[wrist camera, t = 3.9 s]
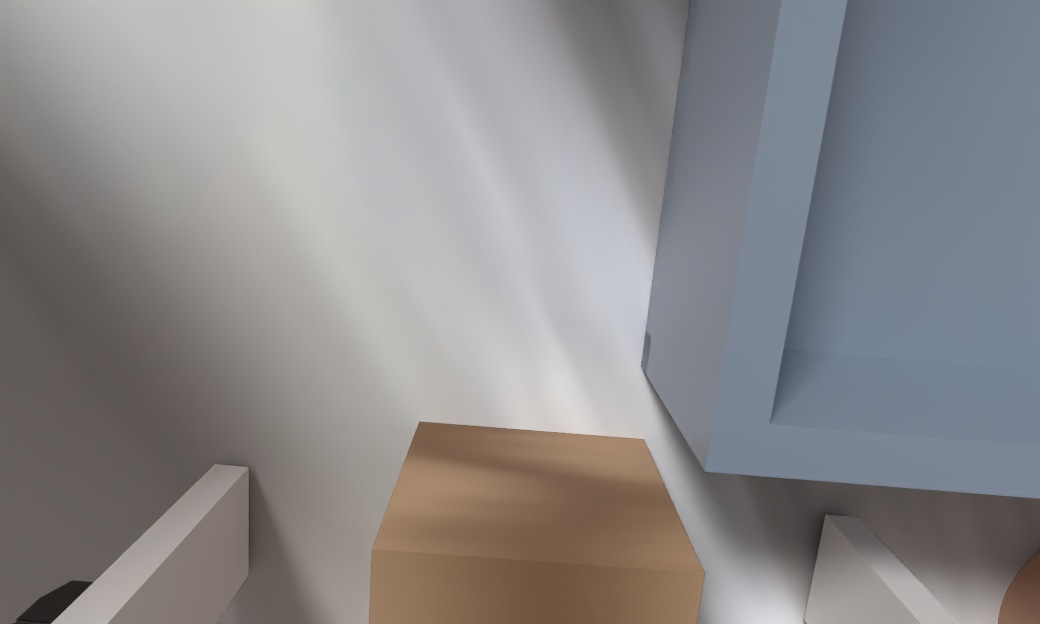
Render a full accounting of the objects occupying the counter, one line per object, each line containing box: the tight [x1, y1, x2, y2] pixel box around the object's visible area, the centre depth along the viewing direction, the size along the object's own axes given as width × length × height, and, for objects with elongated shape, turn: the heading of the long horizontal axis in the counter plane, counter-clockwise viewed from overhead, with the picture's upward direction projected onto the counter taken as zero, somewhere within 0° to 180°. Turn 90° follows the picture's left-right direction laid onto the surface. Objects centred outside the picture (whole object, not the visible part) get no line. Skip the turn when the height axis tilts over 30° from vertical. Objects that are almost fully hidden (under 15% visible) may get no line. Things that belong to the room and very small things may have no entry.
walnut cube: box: [369, 422, 705, 624], centre depth 13 cm, size 5×5×5 cm
